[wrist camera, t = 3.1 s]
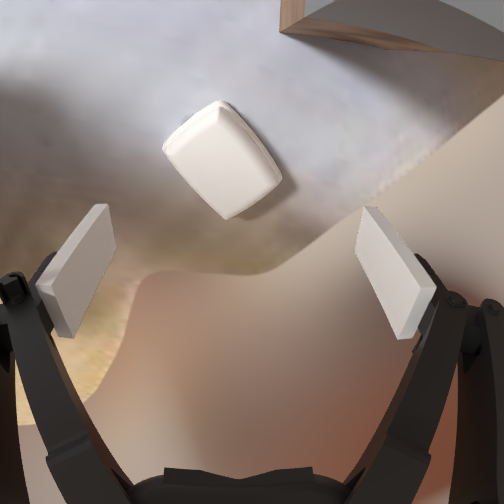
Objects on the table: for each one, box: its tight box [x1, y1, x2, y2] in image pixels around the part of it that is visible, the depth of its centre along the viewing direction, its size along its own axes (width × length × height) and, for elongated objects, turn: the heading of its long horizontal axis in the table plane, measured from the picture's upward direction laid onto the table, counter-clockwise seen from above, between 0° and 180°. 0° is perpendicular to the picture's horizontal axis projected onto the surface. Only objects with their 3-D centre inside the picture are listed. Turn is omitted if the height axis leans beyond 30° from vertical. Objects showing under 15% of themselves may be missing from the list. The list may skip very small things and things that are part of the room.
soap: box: [162, 100, 282, 220], centre depth 25 cm, size 9×7×3 cm
